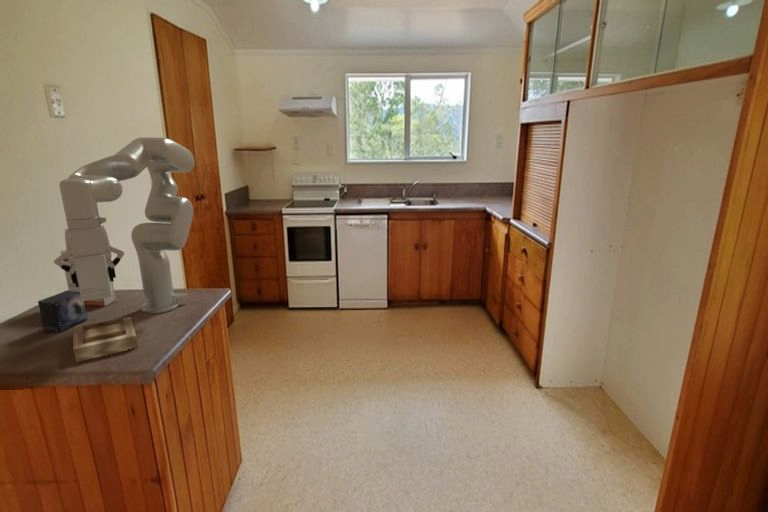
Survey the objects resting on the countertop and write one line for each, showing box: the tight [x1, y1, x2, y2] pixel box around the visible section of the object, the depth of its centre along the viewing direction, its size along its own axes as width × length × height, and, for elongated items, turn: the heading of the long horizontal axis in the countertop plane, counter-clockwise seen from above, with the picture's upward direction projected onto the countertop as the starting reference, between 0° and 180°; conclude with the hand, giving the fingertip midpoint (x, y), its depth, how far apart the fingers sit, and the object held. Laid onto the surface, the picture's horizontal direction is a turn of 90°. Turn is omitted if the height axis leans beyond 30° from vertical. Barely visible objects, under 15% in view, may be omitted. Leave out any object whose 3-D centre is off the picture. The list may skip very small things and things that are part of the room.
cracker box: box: [60, 249, 117, 308], centre depth 152 cm, size 14×6×21 cm, turn 82°
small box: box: [37, 289, 88, 334], centre depth 135 cm, size 11×6×10 cm, turn 168°
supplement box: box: [74, 255, 112, 301], centre depth 119 cm, size 7×7×13 cm
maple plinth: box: [72, 316, 139, 363], centre depth 124 cm, size 15×16×5 cm
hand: (95, 282), depth 120 cm, fingers closed on supplement box, 7 cm apart
